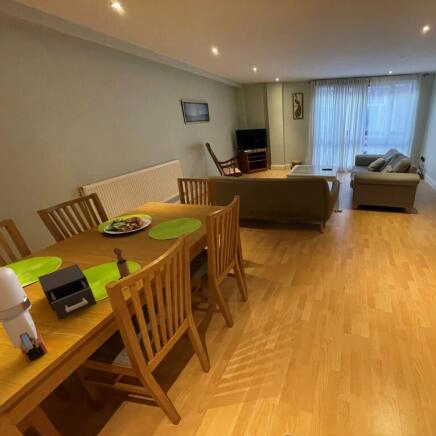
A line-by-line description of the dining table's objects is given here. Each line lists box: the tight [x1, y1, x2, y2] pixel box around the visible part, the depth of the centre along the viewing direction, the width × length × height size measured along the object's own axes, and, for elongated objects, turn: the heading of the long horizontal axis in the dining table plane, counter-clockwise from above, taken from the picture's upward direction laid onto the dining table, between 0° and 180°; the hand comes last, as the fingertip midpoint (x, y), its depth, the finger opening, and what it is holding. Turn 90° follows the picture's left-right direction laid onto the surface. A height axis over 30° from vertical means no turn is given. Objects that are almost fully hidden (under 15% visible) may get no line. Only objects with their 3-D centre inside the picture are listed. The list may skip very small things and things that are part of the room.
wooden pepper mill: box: [113, 246, 132, 281], centre depth 107 cm, size 7×6×18 cm
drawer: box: [49, 280, 98, 322], centre depth 93 cm, size 18×11×8 cm, turn 51°
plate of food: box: [103, 216, 152, 234], centre depth 165 cm, size 28×28×6 cm
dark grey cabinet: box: [37, 263, 91, 313], centre depth 100 cm, size 15×13×10 cm
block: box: [19, 333, 48, 363], centre depth 76 cm, size 5×5×5 cm
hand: (36, 351), depth 77 cm, fingers closed on block, 4 cm apart
